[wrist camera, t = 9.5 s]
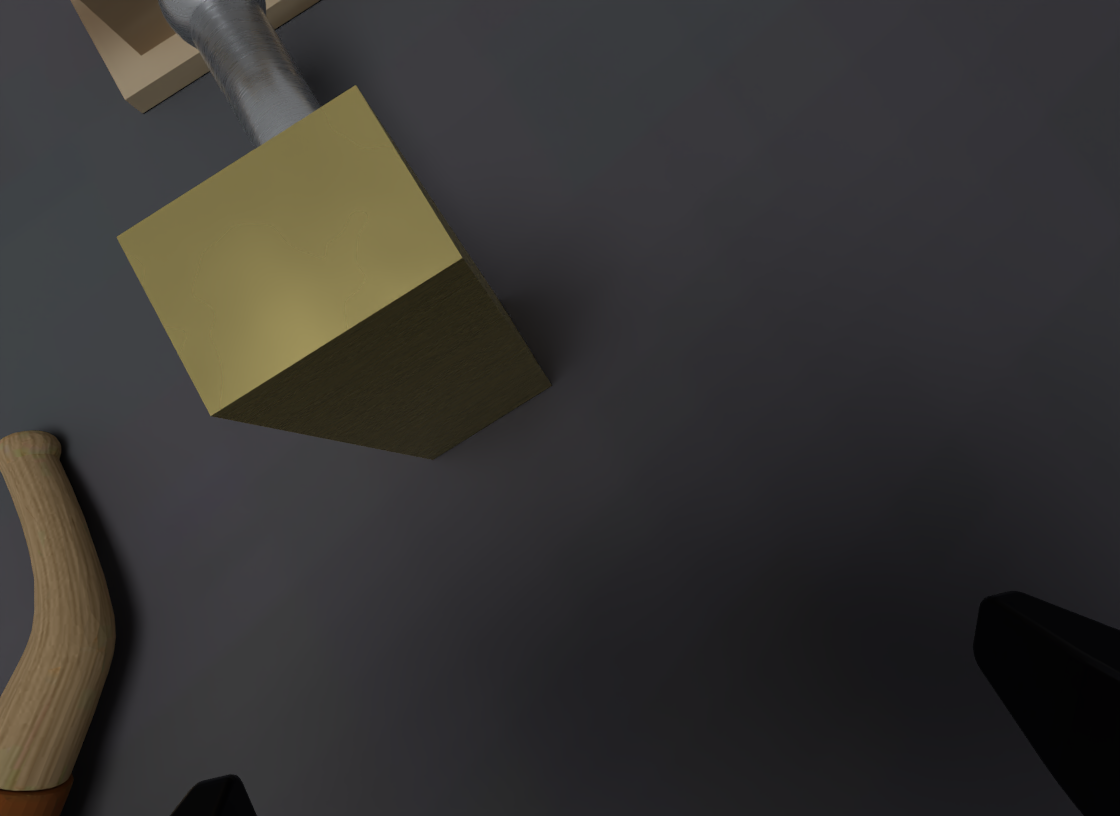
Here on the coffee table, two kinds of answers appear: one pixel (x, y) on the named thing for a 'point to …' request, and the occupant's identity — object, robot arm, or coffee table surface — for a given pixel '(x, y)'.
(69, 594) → the smoking pipe
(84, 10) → the eye post
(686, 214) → the coffee table surface
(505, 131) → the coffee table surface
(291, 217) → the olive block with rod
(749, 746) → the coffee table surface
